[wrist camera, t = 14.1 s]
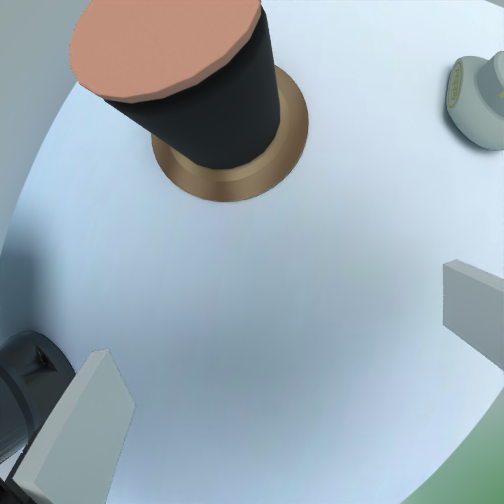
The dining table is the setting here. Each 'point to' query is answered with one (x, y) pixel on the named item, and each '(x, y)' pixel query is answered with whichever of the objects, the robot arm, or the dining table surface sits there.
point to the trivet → (251, 174)
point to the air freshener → (478, 99)
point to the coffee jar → (184, 73)
